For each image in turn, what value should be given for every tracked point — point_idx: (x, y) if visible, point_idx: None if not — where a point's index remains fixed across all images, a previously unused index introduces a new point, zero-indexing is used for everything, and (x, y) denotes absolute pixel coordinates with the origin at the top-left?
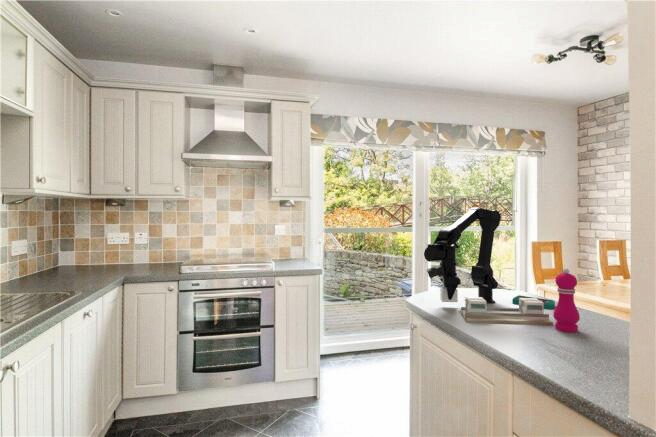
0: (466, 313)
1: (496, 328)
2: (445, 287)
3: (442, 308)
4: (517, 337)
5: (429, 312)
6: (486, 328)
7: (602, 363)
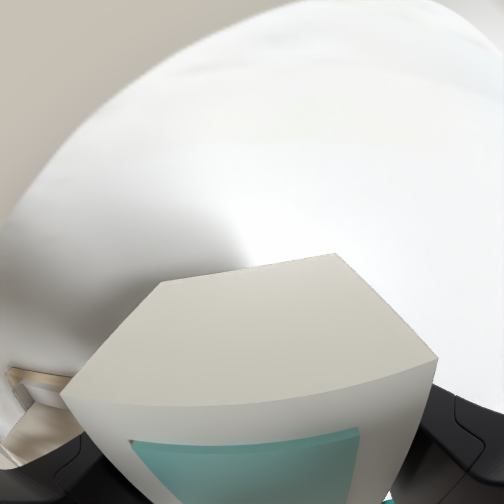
0: (18, 392)
1: None
2: (315, 479)
3: (201, 259)
4: (10, 430)
5: (49, 163)
6: (7, 400)
7: (11, 459)
